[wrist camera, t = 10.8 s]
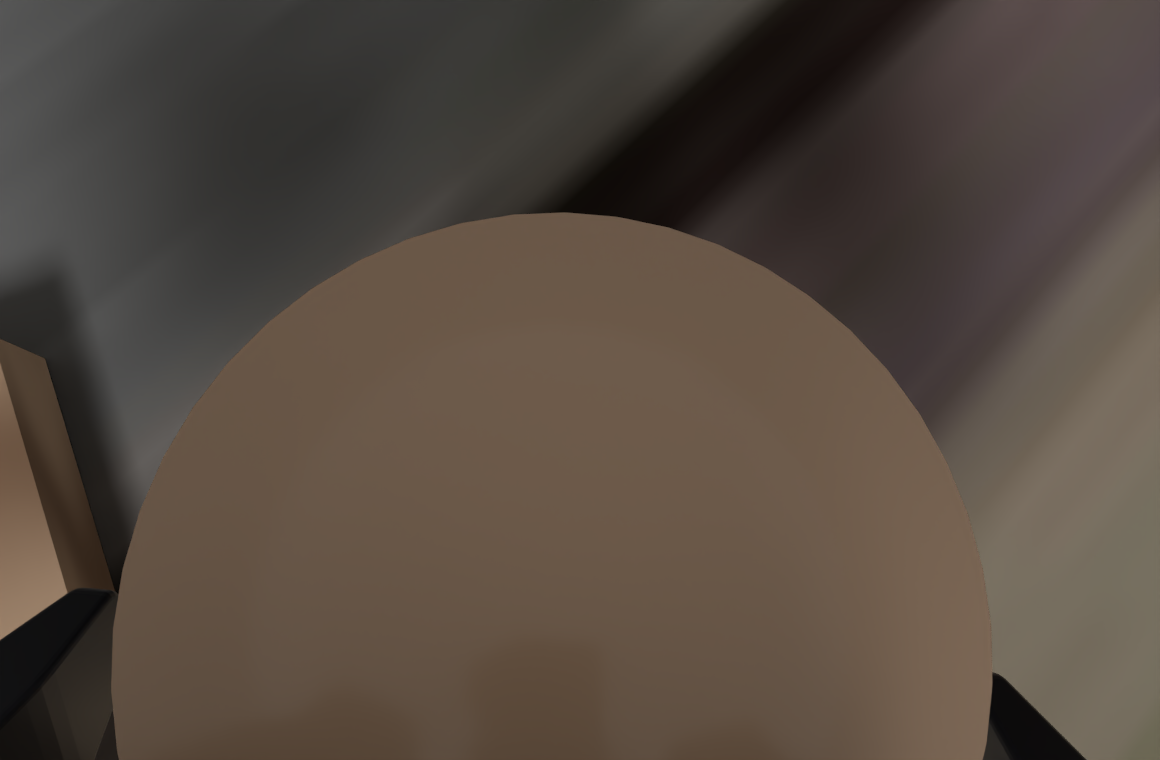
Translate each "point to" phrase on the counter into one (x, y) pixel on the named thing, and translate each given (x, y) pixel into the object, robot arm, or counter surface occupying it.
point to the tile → (40, 497)
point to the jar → (553, 523)
